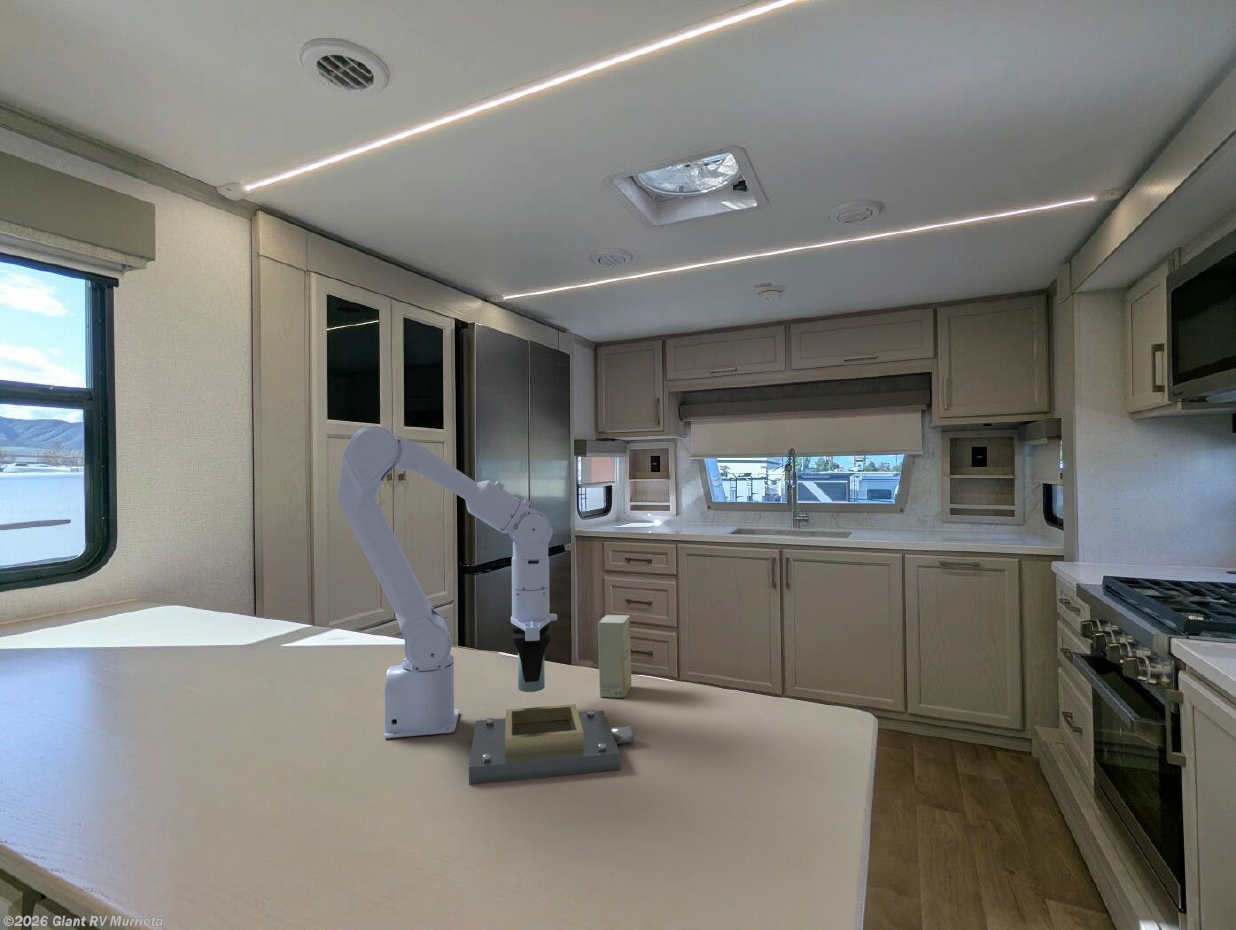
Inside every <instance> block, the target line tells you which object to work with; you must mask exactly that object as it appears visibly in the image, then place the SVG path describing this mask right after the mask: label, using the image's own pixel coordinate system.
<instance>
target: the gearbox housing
mask: <svg viewBox="0 0 1236 930" xmlns="http://www.w3.org/2000/svg"><path fill="white" fill-rule="evenodd" d="M634 742H635V729H634V726H633V725H629V726H628V725H627V726H614V727H611V726H610V725H609V722H608V720H607V716H606V714H605V711H604V710H594V709H587V711H579V712H578V708H577V704H575V703H573V704H561V705H550V706H549V705H548V706H535V707H524V708H523V707H522V708H511V709H510V708H509V709H505V718H504V717H503V718H493V717H487V718H486V719H480V720H475V722H474V730H473V737H472V744H471V749H470V755H469V756H470V757H469V762H468V785H469V786H471V785H480V784H489V783H498V782H499V783H500V782H508V781H509V782H510V781H518V780H521V781H522V780H529V779H538V778H539V779H540V778H541V779H542V778H549V777H558V776H559V777H562V776H570V775H580V774H590V773H599V772H611V771H619V770H620V771H621V752H620V749H619V747H618V744H627V743H629V744H630V743H634Z"/></svg>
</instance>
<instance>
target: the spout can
mask: <svg viewBox="0 0 1236 930" xmlns="http://www.w3.org/2000/svg"><path fill="white" fill-rule="evenodd" d="M517 676H518V677H517V679H518V681H517V686H518V688H517V689H518V690H519V691H521V692H525V693H533V692H539V691H542V690H544V689H545V683H546V682H545V681H546V680H545V678H546V677H545V656H544V657H543V662H542V668H541V674H540V678H539V681H538V682H525V680H524V677H523V672H522V666H521V660H520V656H519V653H518V652H517Z"/></svg>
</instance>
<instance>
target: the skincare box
mask: <svg viewBox="0 0 1236 930" xmlns="http://www.w3.org/2000/svg"><path fill="white" fill-rule="evenodd" d="M630 618H631V617H630V615H628V614H627V615H626V614H623V615H622V614H617V615H616V614H605V615H604V616H603V617H602V618H601V619H600V620H599V621H598V622H597V623H598V624H597V629H598V631H597V632H598V639H597V640H598V671H599V673H598V678H599V697H605V698H616V699H617V698H618V699H619V698H623V699H625V698H626V697H627V695H628V693H629V691H630V689H631V687H632V654H631V653H632V651H631V650H632V649H631V621H630Z"/></svg>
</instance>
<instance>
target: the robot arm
mask: <svg viewBox="0 0 1236 930" xmlns="http://www.w3.org/2000/svg"><path fill="white" fill-rule="evenodd" d="M397 438H398V439H397ZM397 438H396V436H395V435H394V434H393V432H392V431H390V430H389V429H387V428H385V427H384V426H379V425H367V426H365V427H362V428H360V429H358V430H357V431H356V432H355V433H354V434H353V435H352V437H351V439H350V440H349V442H348V444H347V446H346V447H345V449H344V451H343V452H342V463H341V464H342V465H341V470H340V471H341V472H340V478H339V484H338V490H337V503H338V505H339V506H340V508H341V511H342V513H343V514H344V516H345V518H346V520H347V523H348V524H349V526H350V528H351V530H352V531H353V534H354V535H355V537H356V540H357V542H358V545H360V548H361V549H362V552H363V553H364V555H365V557H366V559H367V561H368V563H369V565H370V567H371V568H372V570H373V573H374V574H375V576H376V579H377V581H378V583H379V584H380V586H381V588H382V591H383V592H384V594H385V596H386V598H387V599H388V602H389V604H390V605H391V607H392V610H393V611H394V614H395V618H396V621H397V624H398V627H399V629H400V632H401V633H402V636H403V639H404V647H403V648H404V649H403V650H404V655H405V658H403V660H402V663H401V664H398V665H391V666H389V667H388V668H387V672H386V676H385V683H384V685H385V686H384V734H383V738H384V739H392V738H393V739H394V738H404V737H414V736H415V737H416V736H428V735H429V736H430V735H439V734H440V735H441V734H450V733H454V732H456V731H455V730H456V727H457V723H458V719H459V715H460V709H458V708H455V667H454V666H455V664H454V660H455V659H454V658H455V657H454V656H453V655H452V654H451V651H452V643H453V642H452V637H451V635H450V624H449V622H448V619H446V617H444V615H442V614H441V613H440V612H438V611H437V610H436V609H435V608H434V607H433V605H432V603H431V601H430V600H429V598H428V597H427V595H426V594H425V592H424V590H423V589H422V586H421V585H420V583H419V580H418V578H417V576H416V575H415V573H414V571H413V569H412V567H411V564H410V563H409V561H408V558H407V557H406V555H405V553H404V551H403V549H402V547H401V545H400V543H399V541H398V540H397V537H396V535H395V533H394V532H393V529H392V527H391V525H390V524H389V521H388V519H387V517H386V516H385V514H384V511H383V510H382V508H381V506H380V504H379V502H378V500H377V496H378V495H379V493H380V490H381V488H382V485H383V484H384V483H383V482H384V480H385V478H386V477H387V476H388V474H389V473H390V472H392V470H393V469H394V468H395V466H396V465H397V466H396V470H398V471H402V472H403V471H404V472H411V473H412V472H413V473H419V474H421V475H423V476H425V477H426V478H427V479H430V480H431V481H433V482H434V483H437V484H438V485H440V486H442V487H443V488H445V489H447V490H448V491H450V492H452V493H454V494H456V495H457V496H459V497H461V498H462V499H464V500H465V504H466V509H467V512H468V514H470V515H472V516H473V517H475V518H477V519H479V520H480V521H482V522H483V523H485V524H487V525H488V526H490V527H491V528H493V529H494V530H497V531H498V532H500V533H502V534H508V535H509V537H510V538H511V540H512V557H511V616H510V623H511V624H512V632H513V634H512V636H511V637H512V642H513V644H514V645H515V646H514V647H515V648H516V650H517V654H518V653H519V656H520V660H521V666H522V672H523V677H524V680H525V682H538V681H539V678H540V674H541V668H542V662H543V657H544V658H545V654H546V653H545V652H546V649H547V647H548V645H549V643H550V641H551V638H552V637H551V634H550V633H548V634H547V632H548V630H549V623H550V622H554V621H557V620H558V614H557V613H550V557H549V542H550V541H551V539H552V536H553V534H554V533H553V532H554V528H553V527H552V525H551V524H552V523H551V521H550V520H549V518H548V516H547V515H546V514H544V513H543V512H541V511H540V510H539V511H538V510H536V509H535V508H533V507H532V508H531V507H530V505H531V502H530V501H529V500H527V499H524V500H522V499H520V498H518V497H516V496H515V495H514V494H512V493H510V492H509V491H507V490H506V489H504V487H505V484H504V483H502V482H500V481H498V480H497V481H495V482H493V481H492V480H491V479H490V480H488V479H486V480H482V481H479V482H476V481H475V480H473V479H472V478H471V477H469V476H467V475H466V474H464V473H463V472H462V471H460V470H458V469H457V468H455V467H454V466H453V465H451V464H449V463H448V462H446V461H445V460H443V459H442V458H440V457H439V456H438V455H436V454H435V453H433V452H432V451H430V450H429V449H427V448H426V447H424V446H422V445H420V444H418V443H416V442H414V441H412V440H410V439H407V438H406V437H403V436H401V435H397Z"/></svg>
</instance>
